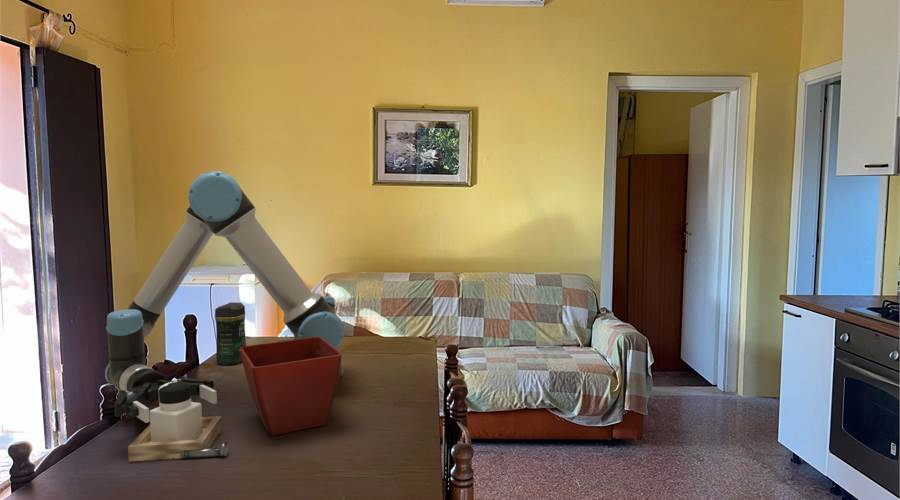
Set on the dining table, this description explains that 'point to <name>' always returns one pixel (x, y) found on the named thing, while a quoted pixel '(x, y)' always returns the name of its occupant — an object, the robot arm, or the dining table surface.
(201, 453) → the pin
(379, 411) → the dining table surface
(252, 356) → the plant pot
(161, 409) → the medicine bottle
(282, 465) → the dining table surface
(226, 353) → the coffee jar
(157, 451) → the wooden tray
